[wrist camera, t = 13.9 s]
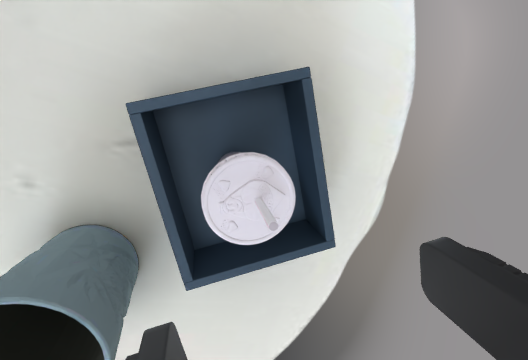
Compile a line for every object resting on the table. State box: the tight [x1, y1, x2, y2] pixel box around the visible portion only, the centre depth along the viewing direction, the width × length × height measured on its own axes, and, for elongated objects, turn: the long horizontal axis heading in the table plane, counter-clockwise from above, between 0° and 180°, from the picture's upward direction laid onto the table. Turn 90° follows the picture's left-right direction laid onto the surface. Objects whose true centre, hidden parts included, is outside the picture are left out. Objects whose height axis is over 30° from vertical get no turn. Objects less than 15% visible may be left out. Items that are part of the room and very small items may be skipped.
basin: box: [126, 67, 335, 291], centre depth 26 cm, size 16×14×6 cm
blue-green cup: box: [0, 225, 139, 360], centre depth 23 cm, size 10×10×12 cm
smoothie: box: [201, 152, 296, 245], centre depth 22 cm, size 6×6×14 cm
